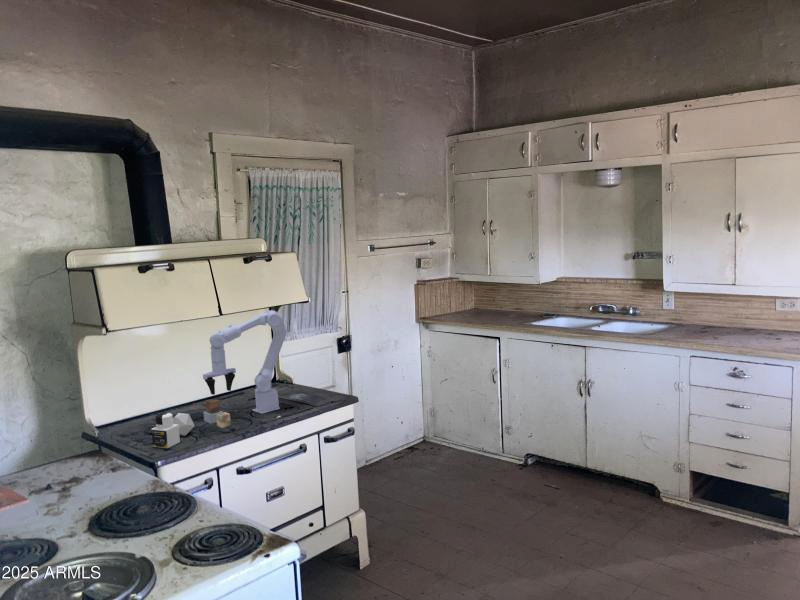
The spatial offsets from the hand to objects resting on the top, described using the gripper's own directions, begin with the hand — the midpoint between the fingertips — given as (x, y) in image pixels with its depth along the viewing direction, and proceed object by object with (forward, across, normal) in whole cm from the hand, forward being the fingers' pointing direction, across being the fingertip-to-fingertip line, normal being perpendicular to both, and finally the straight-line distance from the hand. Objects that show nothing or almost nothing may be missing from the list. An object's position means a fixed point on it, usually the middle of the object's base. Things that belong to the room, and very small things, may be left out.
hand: (221, 392), depth 280 cm
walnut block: (+7, +6, +3) cm, 9 cm away
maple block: (+10, +7, +13) cm, 18 cm away
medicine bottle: (+11, +33, +16) cm, 38 cm away
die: (+11, +23, +9) cm, 27 cm away
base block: (+11, +6, +3) cm, 13 cm away
